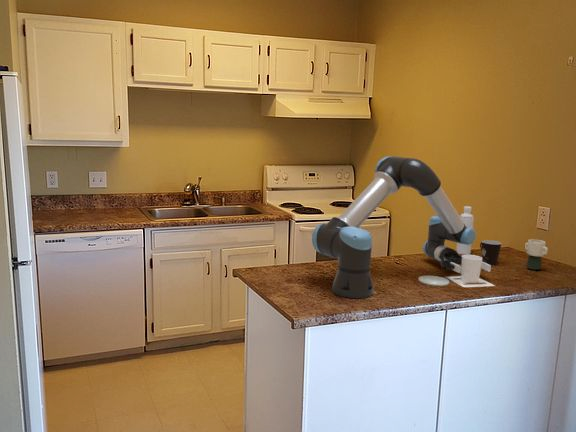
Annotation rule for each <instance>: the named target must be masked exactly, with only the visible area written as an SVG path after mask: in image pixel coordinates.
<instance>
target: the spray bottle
mask: <svg viewBox="0 0 576 432" xmlns="http://www.w3.org/2000/svg"><path fill="white" fill-rule="evenodd" d="M471 212H472V206H463V213H461V214H460V215H459V216H460V218H461V219H462V221H463V222H464V224H465V226H466V227H470V228H472V229H474V219H475V217H474V215H473V214H471ZM471 250H472V244H470V245H466V244H461V243H457V242H456V250H455V251H457V253H458V255H471V252H472V251H471Z"/></svg>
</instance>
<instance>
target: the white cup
mask: <svg viewBox="0 0 576 432" xmlns="http://www.w3.org/2000/svg"><path fill="white" fill-rule="evenodd" d="M461 256H462V262H461V264H460V266H461V273H460V276H461V280H462V281H463V282H467V283H478V281H479V278H480V275H481V272H482V271H481V270H482V269H481V265H482V256H479V255H475V254H468V255H464V254H461Z"/></svg>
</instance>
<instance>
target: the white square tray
mask: <svg viewBox="0 0 576 432" xmlns="http://www.w3.org/2000/svg"><path fill="white" fill-rule="evenodd" d="M445 279H448V280H449V281H451V282H453V283H454V284H457V285H458V286H461V287H463V288H481V287H483V288H486V287H487V288H488V287H496V285H495V284H493V283H492V282H491V283H490V282H489V281H487V280H485V279H482V278H480V277H479V281H478V283H467V282H463V281H462V280H461V275H459V276H456V275H455V276H452V275H451V276H445Z"/></svg>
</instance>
